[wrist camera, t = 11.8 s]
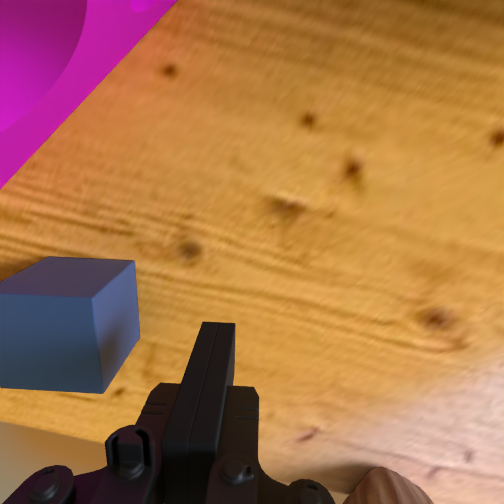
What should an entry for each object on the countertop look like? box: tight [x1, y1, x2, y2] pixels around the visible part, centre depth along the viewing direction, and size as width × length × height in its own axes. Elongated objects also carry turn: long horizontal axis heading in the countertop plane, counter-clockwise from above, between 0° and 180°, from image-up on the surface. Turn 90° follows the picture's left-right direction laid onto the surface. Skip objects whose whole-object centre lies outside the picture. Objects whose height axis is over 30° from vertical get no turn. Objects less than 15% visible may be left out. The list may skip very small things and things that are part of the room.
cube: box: [0, 257, 140, 394], centre depth 18 cm, size 5×5×5 cm
